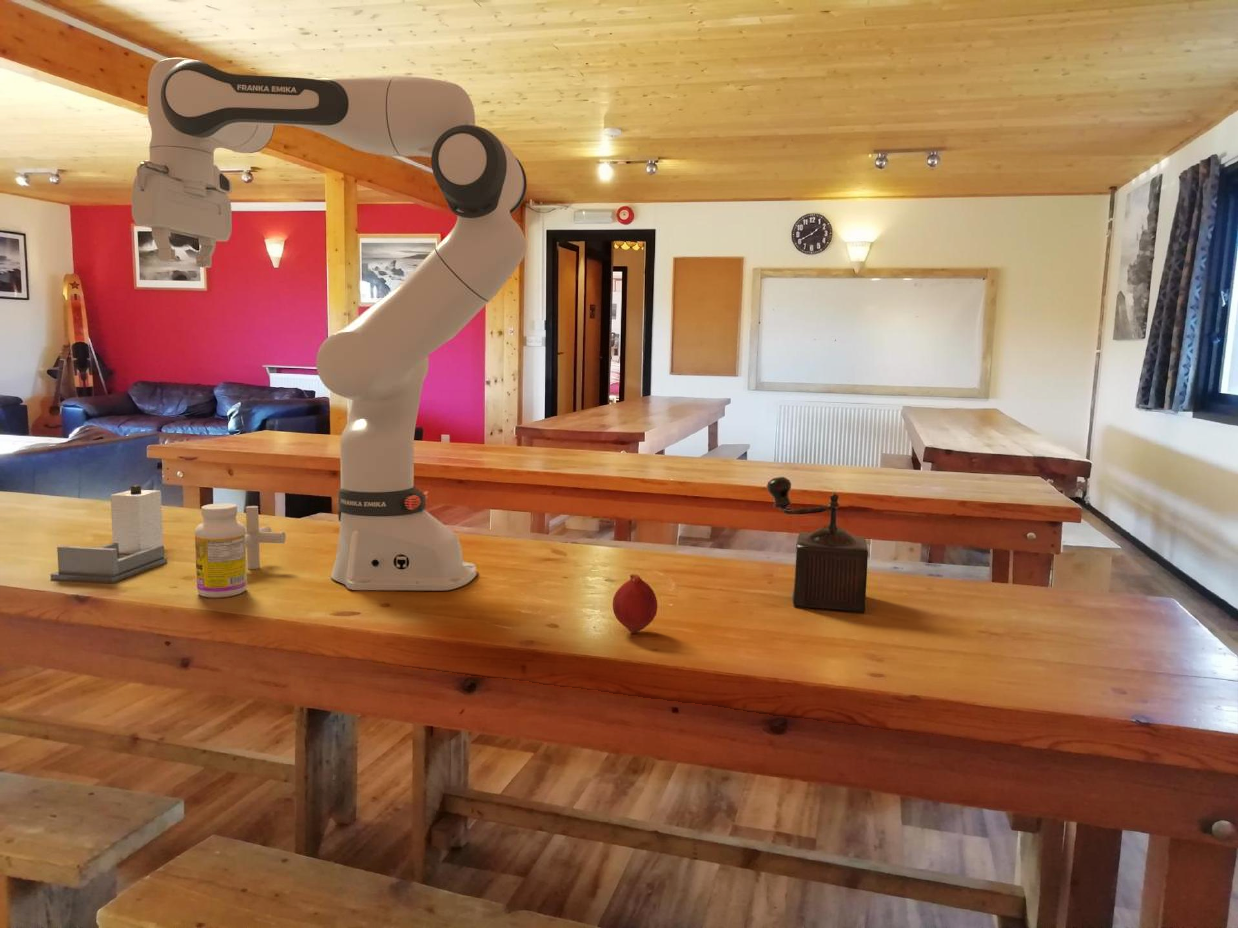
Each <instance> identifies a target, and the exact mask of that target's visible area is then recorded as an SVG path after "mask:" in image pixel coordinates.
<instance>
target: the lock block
mask: <svg viewBox="0 0 1238 928" xmlns="http://www.w3.org/2000/svg"><path fill="white" fill-rule="evenodd" d="M110 510H111V511H110V512H111V514H110V515H111V531H112V532H111V533H112V535H111V536H112V543H118V547H119V554H122V555H131V554H134V553H137V552H140V551H143V550H146V549H149V548H151V547H154V546H157V545H163V546H164V539H163V538H164V534H163V515H162V514H163V511H162V491H161V490H153V489H151V490H150V489H142V485H141V484H137V485H136V484H135V485H130V490H126V491H121V492H117V493H114V494H110Z"/></svg>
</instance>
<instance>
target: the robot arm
mask: <svg viewBox="0 0 1238 928" xmlns="http://www.w3.org/2000/svg"><path fill="white" fill-rule="evenodd" d="M147 84H148V85H147V119H148V123H149V125H150V130H151V137H150V142H149V151H148V152H149V160H143V161H142V162H141V163H140V164H139V165H138V166H137V167H136V176H135V177H134V179H133V184H132V190H131V191H132V194H131V217H132V219H133V221H134V223H135V225H137V226H140V227H145V228H148V229H149V228H150V229H151V237H152V240H153V241H154V244H155V245H156V249H157V254H158V256H157V257H158V260H159V261H162V262H175V260H176V249H174V248H172V245H171V242H170V237H171V236H172V233H173V234H177V235H182V236H186V237H191V238H195V239H198V246H200V249H199V253H198V255H195V261H196V262H195V263H196V264H195V265H196V266H197V267H199V268H203V269H204V268H207V269H208V268H211V267H212V262H213V261H212V257H213V255H214V252H215V250H216V247H217V243H216V242H228V241H229V239H230V238H231V236H232V225H233V222H232V203H231V199H230V197H229V196H228V194H229V195H230V194H232V192H233V183H232V181H231V180H230V179H229V178H228V177H227V176H226V175H225V174H224V172H222V171H221V170H220V169H219V166H218V165H216V164H215V161H214V160H215V159H214V157H215V156H214V152H215V150H216V149H220V148H221V149H225V150H230V151H232V152H235V153H240V154H254V153H257V152H259V151H261V150H263V149H264V148H265V147H266V146H267V145H268V144H269V143H270V141H271V140H272V137H273V135H274V132H275V126H291V127H298V128H302V129H306V130H309V131H312V132H315V133H318V134H321V135H323V136H325V137H327V138H329V139H333V140H334V141H336V142H339V143H340V144H343V145H345V146H348V147H349V148H350V149H351V148H352V149H353V150H357V151H358V152H363V153H369V154H372V155H373V154H374V155H377V156H385V157H423V158H424V157H425V158H426V157H427V158H430V161H431V170H432V173H433V176H434V177H433V178H434V180H435V181H436V184H437V185H438V187H439V190H440V192H441V193H442V195H443V197H444V199H445V201H446V203H447V205H448V208H449V209H450V211H451V213H452V214H454V215H456V216H457V218H456V219H457V220H456V221H455V222H456V223H455V225H454V227H453V228H452V229H451V230H450V231H449V233H448V234H447V235H446V237H444V239H442V240H441V242H440V243H438V244H437V246H435V248H433V250H432V251H430V253H428V255H427V256H426V257H425V258H424V259H423V260H422V261H421V262H420V263H419V264H418V265H417V266H416V267H415V268H414V269H413V270H412V271H411V272H410V274H408V276H406V278H404V280H403V281H401V282H400V283H399V284H398V285H397V286H396V287H395V288H394V289H393V290H391V291H390V292H388V293H387V294H385V296H383V297H382V298H381V299H379V300H378V301H377V302H375V303H373V304H372V305H371V306H370V307H368V308H367V309H366V310H365V311H364V312H362V313H361V314H360V315H358V316H357V317H356V318H355V319H353V320H352V321H351V322H350V323H348V324H347V325H346V326H345V327H342V328H341V329H340V330H338V331H336V332H334V333H332V334H331V335H330V336H328V337H327V338H326V339H325V340H324V341H323V342H322V343H321V345H320V346H319V348H318V352H317V354H316V359H315V360H316V366H315V367H316V370H317V371H316V372H317V374H318V377H319V379H320V381H321V383H322V384H323V386H324V387H326V388H327V389H328V390H329V391H330V392H332V393H333V394H335V395H337V396H340V397H342V398H345V399H348V400H352V401H351V406H350V410H349V411H350V412H349V415H348V420H347V422H346V426H345V428H344V429H343V431H342V433H341V435H340V441H339V443H340V445H339V446H340V448H339V449H340V486H339V488H337V515H338V522H339V533H338V534H339V536H338V541H337V542H338V543H337V549H336V550H337V551H336V556H335V559H334V565H333V566H332V567H333V568H332V571H331V574H330V577H331V579H333V581H336V582H339V583H341V584H343V585H345V586H346V588H347V590H352V591H450V590H454V589H458V588H460V587H463V586H465V585H467V584H469V583H470V582H471V581H472V580H473V579H474V578H475V577H476V576H477V567H476V565H475V564H474V563H472V562H466V561H464V559H463V558H464V557H463V550H462V546H461V542H460V539H459V537H458V535H457V533H455V532H454V531H453V530H451V529H449V528H448V527H447V526H446V525H445V524H443V523H442V522H441V521H440V520H439V519H437V518H436V517H434V516H433V515H432V514H430V513H429V512H428V511H427V510H426V499H428V498H429V496H427V495H428V494H429V491H428V490H426V491H424V492H422V490H420V489H419V488H418V487H417V486H415V485H414V475H415V473H414V471H415V470H414V463H415V462H414V461H415V460H414V451H415V450H414V448H415V446H414V444H415V442H414V441H415V432H416V425H417V420H418V419H417V418H418V415H419V414H418V413H419V410H420V409H419V408H420V403H421V398H422V397H421V395H422V391H423V386H424V385H423V384H424V381H425V379H426V377H427V375H428V371H429V366H430V363H429V355H431V354H432V353H433V352H435V351H436V350H437V349H439V348H440V347H442V345H443V346H444V344H446V343H447V342H449V341H451V340H452V339H453V338H454V337H456V336H457V334H459V333H460V332H461V331H462V329H464V328H465V327H466V326H467V325H468V323H470V322H471V321H472V319H473V318H475V316H476V315H477V314H478V313H479V312H481V310H482V309H483V308H484V307H485V306H486V305H487V304H489V302H490V301H491V300H492V299H493V298H494V297H495V296H496V295H497V294H498V292H500V291H501V289H502V288H503V287H504V286H505V284H507V282H508V281H509V280H510V278H511V276H512V275H513V274H514V272H515V271H516V270H517V268H518V267H519V265H520V264H521V262H522V261H523V259H524V258H525V256H526V252H527V239H526V237H525V234H524V232H523V230H522V228H521V227H520V225H519V224H518V223H517V222H516V220H514V218H513V217H512V214H513V213H514V212H515V211H516V210H518V208H519V207H521V205H522V204H523V202H524V200H525V198H526V195H527V194H526V193H527V188H528V183H527V181H528V180H527V175H526V171H525V169H524V167H523V165H522V163H521V162H520V161H519V159H518V158H517V157H516V155H515V154H514V152H513V150H511V147H509V146H508V145H507V144H506V143H505V142H504V141H503V140H501V139H500V138H499V137H498V136H496V135H495V134H494V133H493V132H492V131H490V130H488V129H486V128H484V127H482V126H478V125H476V115H475V113H476V112H475V108H474V105H473V102H472V100H471V97H470V95H469V94H468V92H467V91H466V90H465V89H464V88H463V87H462V86H460V85H459V84H458V83H457V84H456V83H454V82H450V81H446V80H441V79H435V78H430V77H429V78H426V77H419V76H405V75H404V76H392V75H391V76H390V75H389V76H388V75H387V76H367V77H366V76H365V77H363V76H362V77H342V78H341V77H336V78H335V77H333V78H331V77H330V78H329V77H328V78H327V77H322V78H309V77H307V78H306V77H294V76H292V77H291V76H273V75H253V74H236V73H232V72H231V73H230V72H226V71H224V70H221V69H218V68H216V67H214V66H212V65H210V64H209V63H207V62H204V61H202V60H197V59H192V58H188V57H187V58H186V57H185V58H183V57H168V58H164V59H161V60H159V61H157V62H156V63H154V65H153V66H152V68H151V70H150V73H149V77H148V83H147Z"/></svg>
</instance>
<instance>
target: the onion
mask: <svg viewBox="0 0 1238 928" xmlns="http://www.w3.org/2000/svg"><path fill="white" fill-rule="evenodd" d="M629 577H630V579H629V580H628V581H626V582H625V583H623V584H622V585H621V586H620V587H619V588H618V589H617V591H616V592H615V594H614V596H613V598H612V599H613V600H612V609H613V614H614V616H615V618H616V620H617V622H619V623H620V624H621V625H622V626H624V627H625V628H626V629H627V630H628V631H629V632H630V633H632V634H637V633H639V632H640V631H641V630H643V629H645V628H646V627H648V626H649V625H650V624H651V623H652V621H654V619H655V617H656V616H657V613H658V608H659V607H658V600H657V596H656V593H655V591H654V590H653V589H652V587H651V586H650V585H649V584H648V583H647V582H646V581H644V580H643V579H642V578H641V577H640V575H639V574H637V573H631V574H630V575H629Z"/></svg>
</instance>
